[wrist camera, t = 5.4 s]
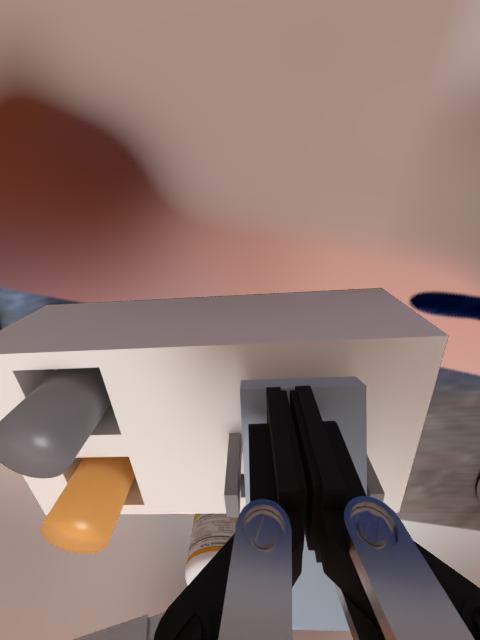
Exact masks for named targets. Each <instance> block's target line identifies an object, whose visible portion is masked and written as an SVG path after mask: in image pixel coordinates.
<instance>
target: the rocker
mask: <svg viewBox="0 0 480 640" xmlns="http://www.w3.org/2000/svg"><path fill="white" fill-rule="evenodd" d="M306 385H310V386H311V389H312V392H313V394H314V397H315V400H316V403H317V406H318V409H319V412H320V415H321V418H322V421H336V422H337V424H338V426H339V429H340V431H341V434H342V436H343V439H344V441H345V444H346V446H347V449H348V451H349V454H350V456H351V459H352V461H353V464H354V466H355V468H356V471H357V473H358V476H359V478H360V481H361V483H362V486H363V488H364V491H365V493H366V496H367V415H366V385H365V384H364V383H363V382H361V381H360V380H359V379H358V378H357V377H355V376H351V377H321V378H292V379H262V380H241V385H240V403H241V422H242V441H243V460H244V474H241V498H246V505H247V504H248V503H250V477H249V433H248V424H260V423H267V406H266V387H281V390H286V391H287V396H288V400H289V405H290V390H295V386H306ZM292 630H336V631H338V630H339V631H350V629H349V626H348V623H347V620H346V617H345V614H344V612H343V609H342V606H341V603H340V600H339V597H338V594H337V591H336V588H335V583H334V582H333V581H332V580H331V579H330V578H329V577H328V576H327V575H326V574H325V573H324V571H323V567H322V563H317V562H316V557H315V552H314V550H312V551H309V550H308V547H307V542H306V537H305V536H304V550H303V557H302V573H301V575H300V576H299V578H298V579H297V581H296V583H295V584H294V586H293V587H292Z"/></svg>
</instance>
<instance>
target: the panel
mask: <svg viewBox="0 0 480 640" xmlns="http://www.w3.org/2000/svg"><path fill="white" fill-rule="evenodd" d="M448 337H449V336H448V335H447V334H445V333H444V332H443V331H441V330H440V329H439V328H437V327H436V326H434V325H433V324H432V323H430V322H429V321H427V320H426V319H424V318H423V317H422V316H420V315H419V314H417V313H416V312H415V311H413V310H412V309H410V308H409V307H408V306H406V305H405V304H403V303H402V302H401V301H399V300H398V299H396V298H395V297H394V296H392V295H391V294H389V293H388V292H387V291H385V290H384V289H382V288H373V289H352V290H332V291H312V292H295V293H294V292H293V293H273V294H254V295H235V296H215V297H195V298H175V299H158V300H157V299H156V300H135V301H116V302H96V303H77V304H57V305H46V306H44V307H42V308H40V309H38V310H37V311H35V312H33V313H31V314H29V315H27V316H26V317H24V318H22V319H20V320H18V321H16V322H15V323H13V324H11V325H9V326H7V327H5V328H4V329H2V330H0V421H1V420H2V419H3V418H4V417H5V416H6V415H7V414H8V413H9V412H10V411H12V410H13V409H14V408H15V407H16V406H17V405H18V404H19V403H20V402H21V401H23V400H24V399H25V398H26V397H27V396H28V395H29V394H30V393H31V392H32V391H34V390H35V389H36V388H37V387H38V386H39V385H40V384H41V383H42V382H43V381H45V380H46V379H47V378H48V377H49V376H50V375H51V374H52V373H53V372H54V371H56V370H57V369H70V368H97V367H99V368H100V371H101V374H102V377H103V380H104V383H105V386H106V389H107V392H108V395H109V399H110V402H111V405H110V406H109V408H108V409H107V411H106V412H105V414H104V415H103V417H102V418H101V420H100V421H99V423H98V424H97V426H96V427H95V429H94V430H93V432H92V433H91V435H90V436H89V438H88V439H87V441H86V442H85V444H84V445H83V447H82V448H81V450H80V451H79V453H78V454H77V456H76V457H75V459H74V461H73V462H72V464H71V465H70V467H69V468H68V469H67V471H66V472H64V473H63V474H61V475H59V476H57V477H53V478H33V477H28V476H25V475H23V477H24V478H25V480H26V482H27V484H28V485H29V487H30V489H31V490H32V492H33V494H34V496H35V497H36V499H37V501H38V502H39V504H40V506H41V508H42V509H43V511H44V513H45V514H46V515H48V514H49V512H50V510H51V509H52V507H53V506H54V504H55V502H56V501H57V499H58V498H59V496H60V494H61V493H62V491H63V490H64V488H65V487H66V485H67V483H68V482H69V480H70V479H71V477H72V475H73V474H74V472H75V471H76V469H77V467H78V466H79V464H80V463H81V461H82V460H83V458H84V457H129V459H130V462H131V465H132V468H133V471H134V474H135V478H134V480H133V483H132V485H131V488H130V490H129V493H128V495H127V498H126V500H125V503H124V505H123V508H122V510H121V513H120V514H227V517H238V516H239V514H240V512H241V511H242V509H243V508H244V507H245V506H246V498H241V474H244V460H243V441H242V422H241V403H240V385H241V380H262V379H292V378H321V377H351V376H355V377H357V378H358V379H359V380H360V381H361V382H363V383H364V384H365V385H366V415H367V496H369V497H373V498H376V499H378V500H380V501H382V502H384V503H385V504H386V505H388V506H389V507H390V508H391V509H392V510H393V511H394V512H399V510H400V507H401V503H402V500H403V496H404V493H405V489H406V485H407V482H408V478H409V475H410V471H411V468H412V464H413V461H414V457H415V454H416V450H417V447H418V443H419V439H420V436H421V432H422V429H423V425H424V422H425V418H426V415H427V411H428V408H429V404H430V400H431V397H432V393H433V390H434V386H435V383H436V379H437V376H438V372H439V369H440V365H441V362H442V358H443V354H444V351H445V347H446V344H447V340H448Z"/></svg>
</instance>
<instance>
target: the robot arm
mask: <svg viewBox="0 0 480 640" xmlns="http://www.w3.org/2000/svg"><path fill="white" fill-rule="evenodd" d="M266 406H267V423H260V424H248V433H249V477H250V503H248V504H247V505H246V506H245V507H244V508H243V509H242V511H241V512H240V514H239V516H238V520H237V523H236V529H235V533H234V534H233V535H232V537H231V538H230V539H229V540H228V541H227V542H226V543H225V544H224V546H223V547H222V548H221V549H220V550H219V551H218V552H217V553H216V555H215V556H214V557H213V558H212V559H211V560H210V561H209V562H208V564H207V565H206V566H205V567H204V568H203V569H202V570H201V571H200V573H199V574H198V575H197V576H196V577H195V578H194V579H193V580H192V582H191V583H190V584H189V585H188V586H187V587H186V588H185V589H184V591H183V592H182V593H181V594H180V595H179V596H178V597H177V599H176V600H175V601H174V602H173V603H172V604H171V605H170V606H169V607H168V609H167V610H166V612H163V613H161V614H158V615H155V616H152V617H148V615H144V616H141V617H138V618H135V619H132V620H129V621H127V622H124V623H120V624H118V625H115V626H112V627H109V628H106V629H103V630H100V631H97V632H94V633H91V634H88V635H85V636H82V637H79V638H76V639H74V640H292V587H293V586H294V584H295V583H296V581H297V579H298V578H299V576H300V575H301V573H302V557H303V550H304V536H305V537H306V542H307V547H308V550H309V551H312V550H314V552H315V557H316V562H317V563H322V567H323V571H324V573H325V574H326V575H327V576H328V577H329V578H330V579H331V580H332V581H333V582H334V583H335V588H336V591H337V594H338V597H339V600H340V603H341V606H342V609H343V612H344V614H345V617H346V620H347V623H348V626H349V629H350V631H351V634H352V637H353V640H480V588H479V587H477V586H476V585H474V584H473V583H472V582H470V581H469V580H468V579H466V578H465V577H463V576H462V575H461V574H459V573H458V572H456V571H455V570H454V569H452V568H451V567H449V566H448V565H446V564H445V563H444V562H442V561H441V560H440V559H438V558H437V557H435V556H434V555H433V554H431V553H430V552H428V551H427V550H426V549H424V548H423V547H421V546H420V545H419V544H417V543H416V542H414V541H413V540H412V538H411V536H410V535H409V533H408V531H407V530H406V528H405V526H404V525H403V523H402V522H401V520H400V518H399V517H398V516H397V515H396V513H395V512H394V511H393V510H392V509H391V508H390V507H389V506H388V505H386V504H385V503H384V502H382V501H380V500H378V499H376V498H373V497H369V496H366V493H365V491H364V488H363V486H362V483H361V481H360V478H359V476H358V473H357V471H356V468H355V466H354V464H353V461H352V459H351V456H350V454H349V451H348V449H347V446H346V444H345V441H344V439H343V436H342V434H341V431H340V429H339V426H338V424H337V422H336V421H322V418H321V415H320V412H319V409H318V406H317V403H316V400H315V397H314V394H313V392H312V389H311V386H310V385H306V386H295V390H290V405H289V400H288V396H287V391H286V390H281V387H266ZM477 497H478V499H479V501H480V479H479V481H478V486H477Z"/></svg>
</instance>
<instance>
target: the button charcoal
mask: <svg viewBox="0 0 480 640" xmlns="http://www.w3.org/2000/svg"><path fill="white" fill-rule="evenodd" d="M110 405H111V402H110V399H109V395H108V392H107V389H106V386H105V383H104V380H103V377H102V374H101V371H100V368H99V367H97V368H70V369H57V370H56V371H54V372H53V373H52V374H51V375H50V376H49V377H48V378H47V379H46V380H45V381H43V382H42V383H41V384H40V385H39V386H38V387H37V388H36V389H35V390H34V391H32V392H31V393H30V394H29V395H28V396H27V397H26V398H25V399H24V400H23V401H21V402H20V403H19V404H18V405H17V406H16V407H15V408H14V409H13V410H12V411H10V412H9V413H8V414H7V415H6V416H5V417H4V418H3V419H2V420H1V421H0V462H1V463H2V464H3V465H4V466H6V467H8V468H9V469H11V470H13V471H15V472H17V473H19V474H22V475H25V476H28V477H33V478H53V477H57V476H59V475H61V474H63V473H64V472H66V471H67V469H68V468H69V467H70V465H71V464H72V462H73V461H74V459H75V457H76V456H77V454H78V453H79V451H80V450H81V448H82V447H83V445H84V444H85V442H86V441H87V439H88V438H89V436H90V435H91V433H92V432H93V430H94V429H95V427H96V426H97V424H98V423H99V421H100V420H101V418H102V417H103V415H104V414H105V412H106V411H107V409H108V408H109V406H110Z"/></svg>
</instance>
